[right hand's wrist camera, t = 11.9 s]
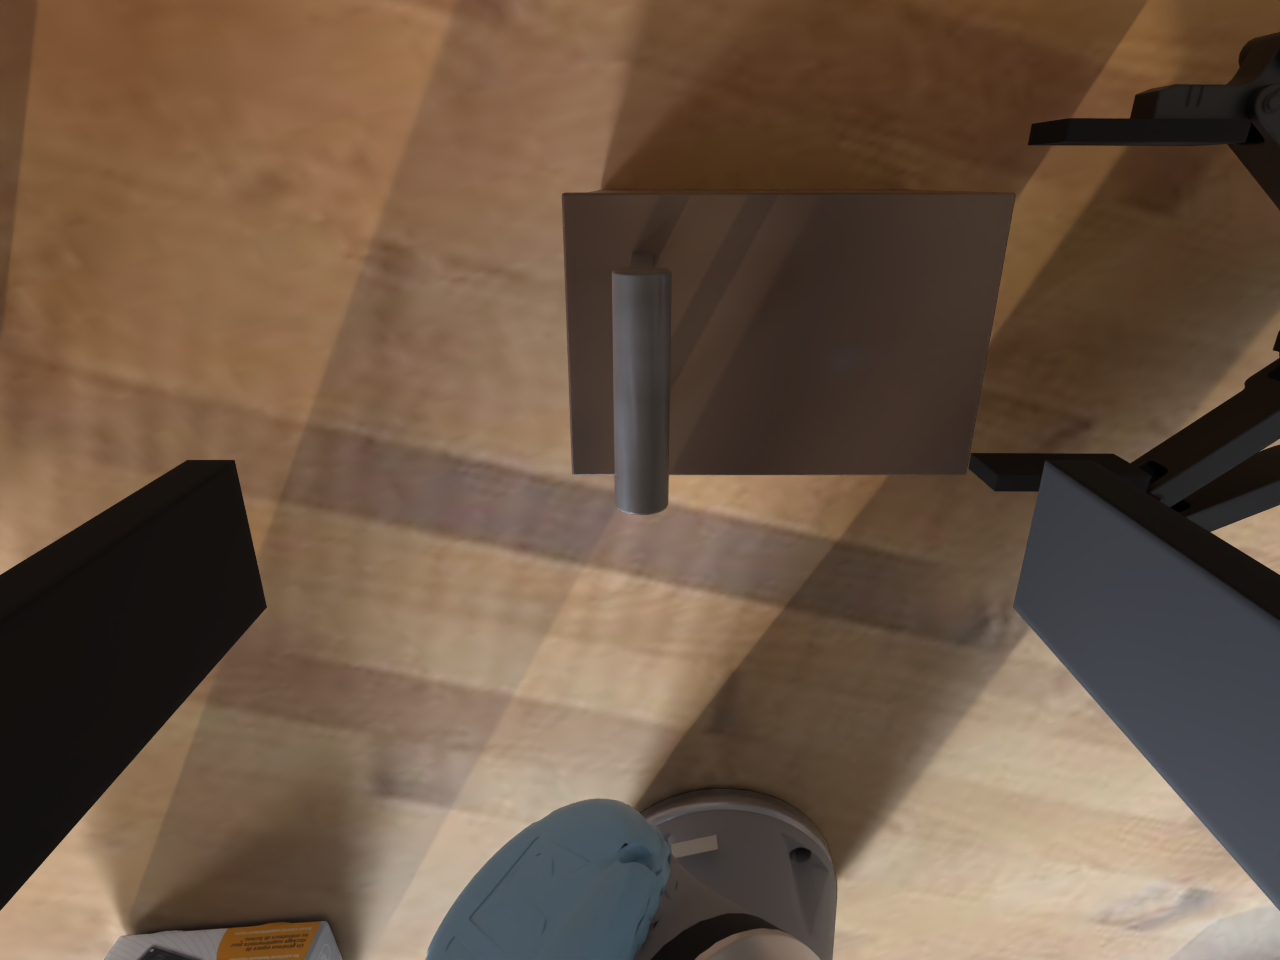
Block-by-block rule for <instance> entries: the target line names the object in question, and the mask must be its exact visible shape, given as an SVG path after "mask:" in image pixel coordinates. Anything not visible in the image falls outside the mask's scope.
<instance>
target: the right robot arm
mask: <svg viewBox="0 0 1280 960" xmlns="http://www.w3.org/2000/svg"><path fill="white" fill-rule="evenodd" d="M266 607H267V606H266V601H265V597H264V592H263V588H262V583H261V579H260V574H259V569H258V565H257V560H256V556H255V551H254V547H253V542H252V537H251V533H250V528H249V524H248V519H247V515H246V510H245V506H244V501H243V496H242V492H241V487H240V483H239V478H238V474H237V469H236V464H235V460H187V461H185V462H183V463H182V464H180V465H179V466H177V467H175V468H174V469H172V470H170V471H169V472H167V473H165V474H164V475H162V476H161V477H159V478H157V479H156V480H154V481H152V482H151V483H149V484H148V485H146V486H144V487H143V488H141V489H139V490H138V491H136V492H135V493H133V494H131V495H130V496H128V497H126V498H125V499H123V500H122V501H120V502H118V503H117V504H115V505H113V506H112V507H110V508H109V509H107V510H105V511H104V512H102V513H100V514H99V515H97V516H96V517H94V518H92V519H91V520H89V521H87V522H86V523H84V524H83V525H81V526H79V527H78V528H76V529H74V530H73V531H71V532H69V533H68V534H66V535H65V536H63V537H61V538H60V539H58V540H56V541H55V542H53V543H52V544H50V545H48V546H47V547H45V548H43V549H42V550H40V551H39V552H37V553H35V554H34V555H32V556H30V557H29V558H27V559H26V560H24V561H22V562H21V563H19V564H17V565H16V566H14V567H13V568H11V569H9V570H8V571H6V572H4V573H3V574H1V575H0V910H1V909H2V908H3V907H4V906H5V905H6V904H7V903H8V901H9V900H10V899H11V898H12V897H13V896H14V895H15V893H16V892H17V891H18V890H19V889H20V888H21V887H22V885H23V884H24V883H25V882H26V881H27V880H28V879H29V877H30V876H31V875H32V874H33V873H34V872H35V871H36V869H37V868H38V867H39V866H40V865H41V864H42V863H43V861H44V860H45V859H46V858H47V857H48V856H49V855H50V854H51V852H52V851H53V850H54V849H55V848H56V847H57V846H58V844H59V843H60V842H61V841H62V840H63V839H64V838H65V836H66V835H67V834H68V833H69V832H70V831H71V830H72V828H73V827H74V826H75V825H76V824H77V823H78V822H79V820H80V819H81V818H82V817H83V816H84V815H85V814H86V812H87V811H88V810H89V809H90V808H91V807H92V806H93V805H94V803H95V802H96V801H97V800H98V799H99V798H100V797H101V795H102V794H103V793H104V792H105V791H106V790H107V789H108V787H109V786H110V785H111V784H112V783H113V782H114V781H115V779H116V778H117V777H118V776H119V775H120V774H121V773H122V771H123V770H124V769H125V768H126V767H127V766H128V765H129V764H130V762H131V761H132V760H133V759H134V758H135V757H136V756H137V754H138V753H139V752H140V751H141V750H142V749H143V748H144V746H145V745H146V744H147V743H148V742H149V741H150V740H151V738H152V737H153V736H154V735H155V734H156V733H157V732H158V730H159V729H160V728H161V727H162V726H163V725H164V724H165V722H166V721H167V720H168V719H169V718H170V717H171V716H172V715H173V713H174V712H175V711H176V710H177V709H178V708H179V707H180V705H181V704H182V703H183V702H184V701H185V700H186V699H187V697H188V696H189V695H190V694H191V693H192V692H193V691H194V689H195V688H196V687H197V686H198V685H199V684H200V683H201V681H202V680H203V679H204V678H205V677H206V676H207V675H208V674H209V672H210V671H211V670H212V669H213V668H214V667H215V666H216V664H217V663H218V662H219V661H220V660H221V659H222V658H223V656H224V655H225V654H226V653H227V652H228V651H229V650H230V648H231V647H232V646H233V645H234V644H235V643H236V642H237V640H238V639H239V638H240V637H241V636H242V635H243V634H244V632H245V631H246V630H247V629H248V628H249V627H250V626H251V625H252V623H253V622H254V621H255V620H256V619H257V618H258V617H259V615H260V614H261V613H262V612H263V611H264V610H265V609H266ZM1013 607H1014V609H1015V610H1016V611H1017V612H1018V613H1019V614H1020V615H1021V617H1022V618H1023V619H1024V620H1025V621H1026V622H1027V623H1028V625H1029V626H1030V627H1031V628H1032V629H1033V630H1034V631H1035V632H1036V634H1037V635H1038V636H1039V637H1040V638H1041V639H1042V640H1043V642H1044V643H1045V644H1046V645H1047V646H1048V647H1049V648H1050V650H1051V651H1052V652H1053V653H1054V654H1055V655H1056V656H1057V658H1058V659H1059V660H1060V661H1061V662H1062V663H1063V664H1064V666H1065V667H1066V668H1067V669H1068V670H1069V671H1070V672H1071V674H1072V675H1073V676H1074V677H1075V678H1076V679H1077V680H1078V681H1079V683H1080V684H1081V685H1082V686H1083V687H1084V688H1085V689H1086V691H1087V692H1088V693H1089V694H1090V695H1091V696H1092V697H1093V699H1094V700H1095V701H1096V702H1097V703H1098V704H1099V705H1100V707H1101V708H1102V709H1103V710H1104V711H1105V712H1106V713H1107V715H1108V716H1109V717H1110V718H1111V719H1112V720H1113V721H1114V722H1115V724H1116V725H1117V726H1118V727H1119V728H1120V729H1121V730H1122V732H1123V733H1124V734H1125V735H1126V736H1127V737H1128V738H1129V740H1130V741H1131V742H1132V743H1133V744H1134V745H1135V746H1136V748H1137V749H1138V750H1139V751H1140V752H1141V753H1142V754H1143V756H1144V757H1145V758H1146V759H1147V760H1148V761H1149V762H1150V764H1151V765H1152V766H1153V767H1154V768H1155V769H1156V770H1157V771H1158V773H1159V774H1160V775H1161V776H1162V777H1163V778H1164V779H1165V781H1166V782H1167V783H1168V784H1169V785H1170V786H1171V787H1172V789H1173V790H1174V791H1175V792H1176V793H1177V794H1178V795H1179V797H1180V798H1181V799H1182V800H1183V801H1184V802H1185V803H1186V805H1187V806H1188V807H1189V808H1190V809H1191V810H1192V811H1193V812H1194V814H1195V815H1196V816H1197V817H1198V818H1199V819H1200V820H1201V822H1202V823H1203V824H1204V825H1205V826H1206V827H1207V828H1208V830H1209V831H1210V832H1211V833H1212V834H1213V835H1214V836H1215V838H1216V839H1217V840H1218V841H1219V842H1220V843H1221V844H1222V846H1223V847H1224V848H1225V849H1226V850H1227V851H1228V852H1229V854H1230V855H1231V856H1232V857H1233V858H1234V859H1235V860H1236V861H1237V863H1238V864H1239V865H1240V866H1241V867H1242V868H1243V869H1244V871H1245V872H1246V873H1247V874H1248V875H1249V876H1250V877H1251V879H1252V880H1253V881H1254V882H1255V883H1256V884H1257V885H1258V887H1259V888H1260V889H1261V890H1262V891H1263V892H1264V893H1265V895H1266V896H1267V897H1268V898H1269V899H1270V900H1271V901H1272V903H1273V904H1274V905H1275V906H1276V907H1277V908H1278V909H1279V910H1280V575H1279V574H1277V573H1276V572H1274V571H1272V570H1271V569H1269V568H1267V567H1266V566H1264V565H1263V564H1261V563H1259V562H1258V561H1256V560H1254V559H1253V558H1251V557H1250V556H1248V555H1246V554H1245V553H1243V552H1241V551H1240V550H1238V549H1237V548H1235V547H1233V546H1232V545H1230V544H1228V543H1227V542H1225V541H1224V540H1222V539H1220V538H1219V537H1217V536H1215V535H1214V534H1212V533H1211V532H1209V531H1207V530H1206V529H1204V528H1202V527H1201V526H1199V525H1197V524H1196V523H1194V522H1193V521H1191V520H1189V519H1188V518H1186V517H1184V516H1183V515H1181V514H1180V513H1178V512H1176V511H1175V510H1173V509H1171V508H1170V507H1168V506H1167V505H1165V504H1163V503H1162V502H1160V501H1158V500H1157V499H1155V498H1154V497H1152V496H1150V495H1149V494H1147V493H1145V492H1144V491H1142V490H1141V489H1139V488H1137V487H1136V486H1134V485H1132V484H1131V483H1129V482H1128V481H1126V480H1124V479H1123V478H1121V477H1119V476H1118V475H1116V474H1115V473H1113V472H1111V471H1110V470H1108V469H1106V468H1105V467H1103V466H1101V465H1100V464H1098V463H1097V462H1095V461H1093V460H1045V464H1044V469H1043V474H1042V478H1041V483H1040V487H1039V492H1038V496H1037V501H1036V506H1035V510H1034V515H1033V519H1032V524H1031V528H1030V533H1029V537H1028V542H1027V547H1026V551H1025V556H1024V560H1023V565H1022V569H1021V574H1020V579H1019V583H1018V588H1017V592H1016V597H1015V601H1014V606H1013Z"/></svg>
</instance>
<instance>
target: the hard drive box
mask: <svg viewBox="0 0 1280 960" xmlns="http://www.w3.org/2000/svg"><path fill="white" fill-rule="evenodd" d="M104 960H343V959H342V956H341V954H340V951H339V949H338V947H337V944H336V941H335V939H334V936H333V934H332V931H331V929H330V926H329V924H328V922H327V921H316V922H303V923H287V922H276V923H267V924H264V925H258V926H250V927H235V928H221V929H208V930H194V931H182V930H175V931H163V932H158V933H152V934H139V935H127V936H120V937H119V939H118V940H117V942H116V943H115V944H114V946H113V947H112V949H111V950H110V951H109V953H108V954H107V956H106V957H105V958H104Z"/></svg>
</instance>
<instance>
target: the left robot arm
mask: <svg viewBox="0 0 1280 960" xmlns="http://www.w3.org/2000/svg"><path fill="white" fill-rule="evenodd" d="M1239 66H1240V68H1239V70H1238V72H1237V73H1236V75H1235V76H1234V77H1233V79H1232V80H1231V81H1230V82H1229V83H1228V84H1226V85H1189V84H1175V85H1169V86H1164V87H1159V88H1153V89H1149V90H1147V91H1144V92H1142V93H1139V94H1137V95H1135V100H1134V104H1133V108H1132V113H1131V117H1130V119H1091V118H1069V119H1062V120H1055V121H1048V122H1042V123H1035V124H1032V126H1031V132H1030V137H1029V142H1028V145H1098V146H1201V145H1216V144H1228V146H1229V147H1230V148H1231V149H1232V151H1233V152H1234V153H1235V154H1236V156H1237V157H1238V158H1239V159H1240V161H1241V162H1242V163H1243V164H1244V166H1245V167H1246V168H1247V169H1248V171H1249V172H1250V173H1251V175H1252V176H1253V177H1254V178H1255V180H1256V181H1257V182H1258V183H1259V185H1260V186H1261V187H1262V188H1263V190H1264V191H1265V192H1266V193H1267V195H1268V196H1269V197H1270V198H1271V200H1272V201H1273V202H1274V204H1275V205H1276V206H1277V207H1278V209H1279V210H1280V32H1278V33H1274V34H1270V35H1265V36H1261V37H1257V38H1254V39H1252V40H1250V41H1249V42H1248V43H1247V44H1246V45H1245V46H1244V47H1243V48H1242V50H1241V52H1240V55H1239ZM1273 350H1274V351H1278V352H1279V357H1280V331H1279V332H1278V335H1277V338H1276V341H1275V345H1274V348H1273ZM1244 384H1245V388H1244V390H1242V391H1241V392H1240V393H1238V394H1236V395H1235V396H1233V397H1232V398H1230V399H1229V400H1227V401H1226V402H1224V403H1223V404H1221V405H1220V406H1218V407H1216V408H1215V409H1213V410H1212V411H1210V412H1209V413H1207V414H1206V415H1204V416H1203V417H1201V418H1200V419H1198V420H1196V421H1195V422H1193V423H1192V424H1190V425H1189V426H1187V427H1186V428H1184V429H1183V430H1181V431H1180V432H1178V433H1176V434H1175V435H1173V436H1172V437H1170V438H1169V439H1167V440H1166V441H1164V442H1163V443H1161V444H1160V445H1158V446H1156V447H1155V448H1153V449H1152V450H1150V451H1149V452H1147V453H1146V454H1144V455H1143V456H1141V457H1140V458H1138V459H1136V460H1135V461H1133V462H1132V463H1128V462H1127V461H1125V460H1123V459H1121V458H1120V457H1118V456H1116V455H1114V454H1041V453H971V459H970V464H969V469H970V470H971V471H972V472H973V473H974V474H976V475H977V476H978V477H979V478H980V479H981V480H983V481H984V482H985V483H986V484H987V485H988V486H989V487H991V488H992V489H993V490H994V491H1039V487H1040V483H1041V478H1042V474H1043V469H1044V464H1045V460H1093V461H1095V462H1097V463H1098V464H1100V465H1101V466H1103V467H1105V468H1106V469H1108V470H1110V471H1111V472H1113V473H1115V474H1116V475H1118V476H1119V477H1121V478H1123V479H1124V480H1126V481H1128V482H1129V483H1131V484H1132V485H1134V486H1136V487H1137V488H1139V489H1141V490H1142V491H1144V492H1145V493H1147V494H1149V495H1150V496H1152V497H1154V498H1155V499H1157V500H1158V501H1160V502H1162V503H1163V504H1165V505H1167V506H1168V507H1170V508H1171V509H1173V510H1175V511H1176V512H1178V513H1180V514H1181V515H1183V516H1184V517H1186V518H1188V519H1189V520H1191V521H1193V522H1194V523H1196V524H1197V525H1199V526H1201V527H1202V528H1204V529H1206V530H1207V531H1209V532H1211V531H1214V530H1216V529H1219V528H1221V527H1224V526H1227V525H1229V524H1232V523H1234V522H1237V521H1239V520H1242V519H1245V518H1247V517H1250V516H1252V515H1255V514H1257V513H1260V512H1262V511H1265V510H1268V509H1270V508H1273V507H1275V506H1278V505H1280V445H1277V446H1273V447H1271V448H1268V449H1265V450H1262V449H1264V448H1266V447H1267V446H1269V445H1270V444H1272V443H1274V442H1275V441H1277V440H1278V439H1280V358H1279V359H1277V360H1276V361H1274V362H1273V363H1271V364H1269V365H1268V366H1266V367H1265V368H1263V369H1262V370H1260V371H1259V372H1257V373H1256V374H1254V375H1253V376H1251V377H1250V378H1248V379H1247V380H1246V381H1245V383H1244ZM1261 450H1262V451H1261ZM1259 451H1260V452H1259ZM836 906H837V880H836V875H835V871H834V867H833V864H832V860H831V857H830V853H829V850H828V847H827V844H826V842H825V840H824V838H823V836H822V835H821V833H820V832H819V830H818V829H817V827H816V826H815V825H814V824H813V823H812V822H811V821H810V820H809V819H808V818H807V817H806V816H805V815H804V814H802V813H801V812H799V811H798V810H797V809H795V808H794V807H792V806H790V805H789V804H787V803H785V802H782V801H780V800H778V799H776V798H773V797H770V796H768V795H764V794H760V793H757V792H752V791H747V790H738V789H707V790H699V791H693V792H688V793H684V794H681V795H677V796H674V797H671V798H669V799H666V800H664V801H662V802H659V803H657V804H655V805H653V806H652V807H650V808H648V809H646V810H645V811H643V812H642V813H641V814H640V813H639V812H638V811H637V810H636V809H634V808H632V807H631V806H629V805H627V804H625V803H623V802H620V801H616V800H611V799H589V800H583V801H580V802H576V803H573V804H570V805H567V806H564V807H562V808H560V809H557V810H555V811H553V812H552V813H550V814H549V815H548V816H546V817H545V818H543V819H542V820H540V821H538V822H535V823H533V824H531V825H530V826H528V827H527V828H525V829H524V830H523V831H521V832H520V833H519V834H517V835H516V836H515V837H514V838H512V839H511V840H510V841H509V842H508V843H506V844H505V845H504V846H503V847H502V848H501V849H500V850H499V851H498V852H497V853H496V854H495V855H494V856H493V857H492V858H491V859H490V860H489V861H488V862H487V863H486V864H485V865H484V866H483V867H482V868H481V869H480V870H479V872H478V873H477V874H476V875H475V876H474V877H473V879H472V880H471V881H470V882H469V883H468V885H467V886H466V887H465V889H464V890H463V891H462V893H461V894H460V895H459V897H458V898H457V899H456V901H455V902H454V904H453V905H452V907H451V908H450V910H449V911H448V913H447V915H446V916H445V918H444V920H443V921H442V923H441V925H440V926H439V928H438V930H437V932H436V934H435V935H434V937H433V940H432V942H431V944H430V946H429V948H428V952H427V958H426V960H832V958H833V945H834V932H835V919H836Z"/></svg>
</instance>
